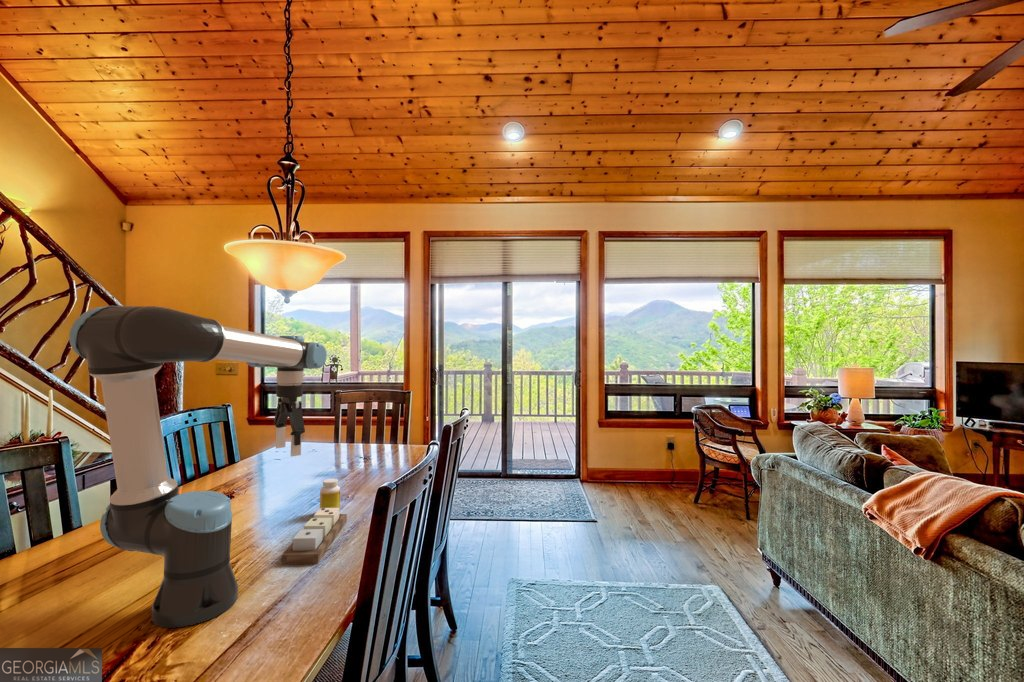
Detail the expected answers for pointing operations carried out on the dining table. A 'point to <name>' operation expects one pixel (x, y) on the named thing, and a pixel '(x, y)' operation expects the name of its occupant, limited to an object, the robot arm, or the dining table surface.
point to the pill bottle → (330, 494)
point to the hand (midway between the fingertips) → (287, 451)
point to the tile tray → (317, 555)
